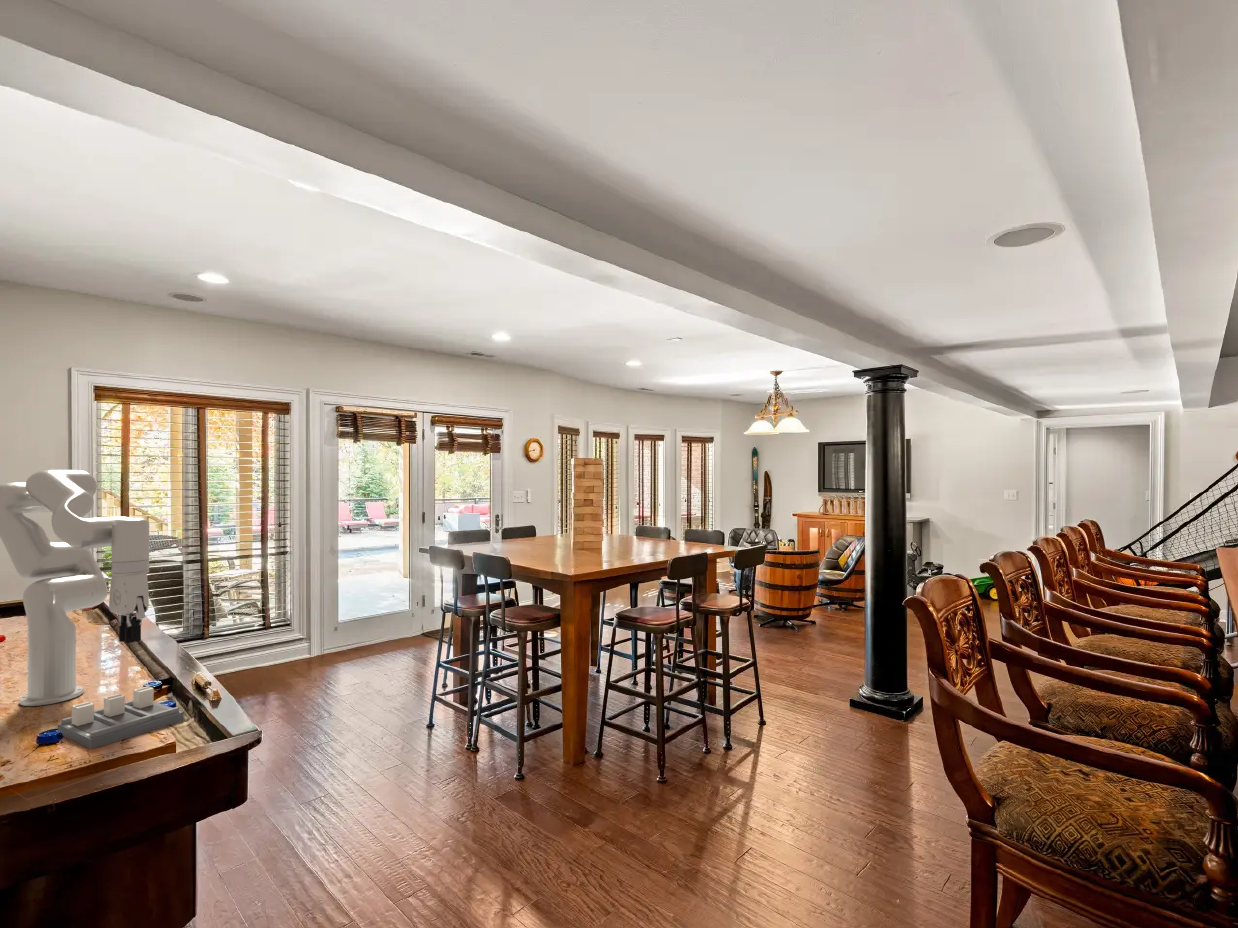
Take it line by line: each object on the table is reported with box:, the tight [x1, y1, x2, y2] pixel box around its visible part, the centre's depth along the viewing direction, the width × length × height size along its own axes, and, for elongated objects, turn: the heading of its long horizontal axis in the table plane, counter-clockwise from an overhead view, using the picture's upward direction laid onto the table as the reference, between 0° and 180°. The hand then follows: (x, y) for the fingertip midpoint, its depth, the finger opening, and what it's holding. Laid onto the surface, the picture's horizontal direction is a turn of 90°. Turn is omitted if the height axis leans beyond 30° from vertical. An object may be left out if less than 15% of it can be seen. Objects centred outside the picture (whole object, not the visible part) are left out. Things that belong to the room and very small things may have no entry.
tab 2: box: [103, 693, 126, 717], centre depth 149 cm, size 3×3×4 cm
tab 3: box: [132, 685, 154, 709], centre depth 154 cm, size 3×3×4 cm
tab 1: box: [71, 701, 95, 726], centre depth 144 cm, size 3×3×4 cm
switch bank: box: [57, 699, 185, 750], centre depth 147 cm, size 17×18×3 cm
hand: (130, 640), depth 158 cm, fingers closed
